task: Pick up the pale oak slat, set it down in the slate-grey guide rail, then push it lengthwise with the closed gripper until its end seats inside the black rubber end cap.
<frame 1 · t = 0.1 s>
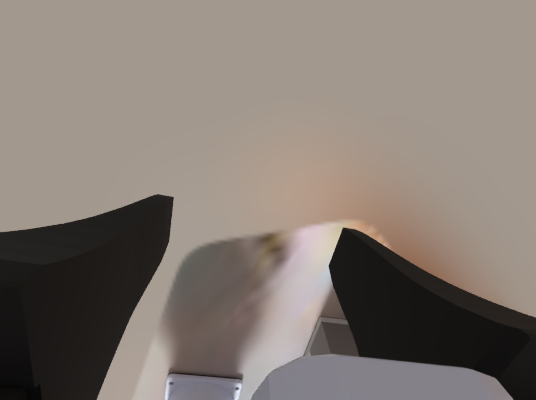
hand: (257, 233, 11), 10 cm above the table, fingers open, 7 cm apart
endcap rail: (325, 372, 31), on the table
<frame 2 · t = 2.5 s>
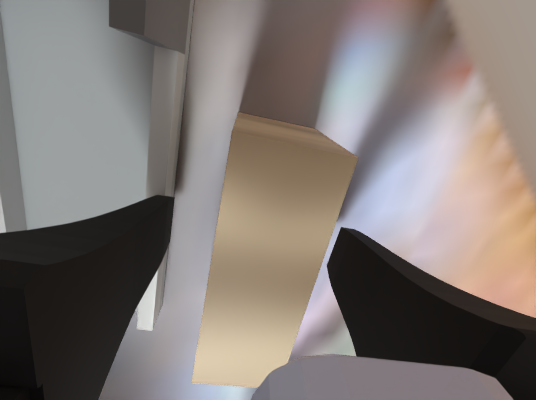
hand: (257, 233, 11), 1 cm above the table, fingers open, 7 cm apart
slat: (255, 216, 13), on the table
endcap rail: (96, 144, 11), on the table
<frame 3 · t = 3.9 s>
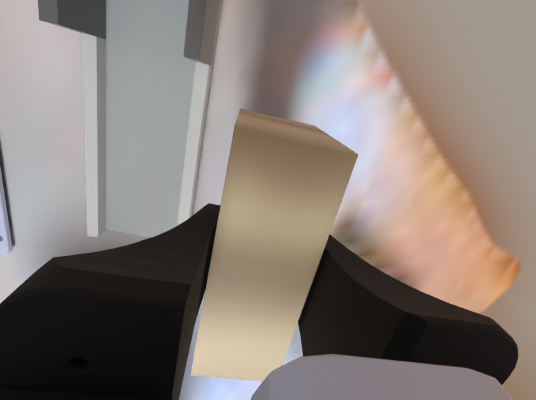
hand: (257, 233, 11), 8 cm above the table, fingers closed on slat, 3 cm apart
slat: (256, 212, 13), point 6 cm above the table, touching gripper
endcap rail: (152, 122, 17), on the table
when the fingers open (4 cm above the table, at t = 5.6 s): slat drops 1 cm, resting on endcap rail.
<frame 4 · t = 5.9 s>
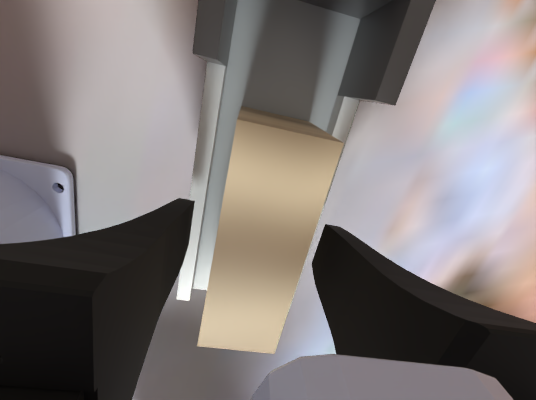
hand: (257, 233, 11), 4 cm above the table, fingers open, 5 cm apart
slat: (255, 202, 14), point 1 cm above the table, touching endcap rail
endcap rail: (263, 164, 14), on the table
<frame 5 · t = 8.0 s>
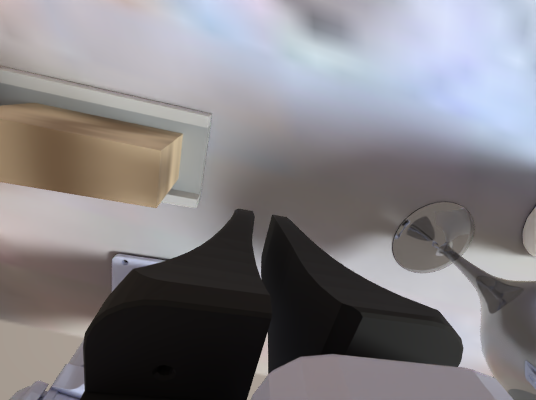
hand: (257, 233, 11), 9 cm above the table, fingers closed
slat: (111, 143, 18), point 1 cm above the table, touching endcap rail
endcap rail: (86, 135, 18), on the table
wine glass: (431, 238, 24), on the table
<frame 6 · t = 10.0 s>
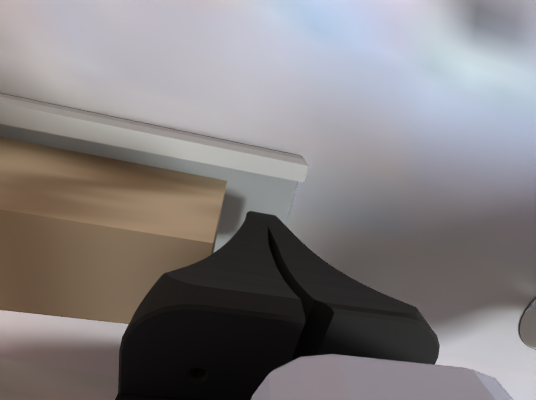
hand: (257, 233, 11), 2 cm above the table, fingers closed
slat: (116, 195, 12), point 1 cm above the table, touching endcap rail, gripper
endcap rail: (111, 189, 12), on the table
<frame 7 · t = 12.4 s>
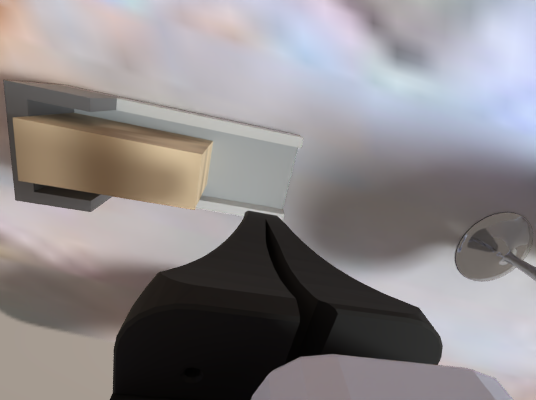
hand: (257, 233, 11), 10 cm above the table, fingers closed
slat: (144, 150, 19), point 1 cm above the table, touching endcap rail
endcap rail: (183, 156, 20), on the table
wine glass: (492, 247, 25), on the table
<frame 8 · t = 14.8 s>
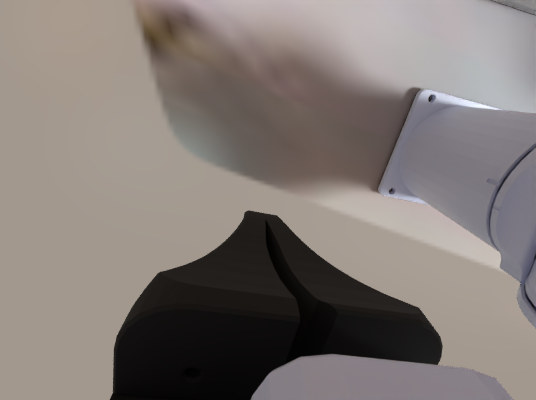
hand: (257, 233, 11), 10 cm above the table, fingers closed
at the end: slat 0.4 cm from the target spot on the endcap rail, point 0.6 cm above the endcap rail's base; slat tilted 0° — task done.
